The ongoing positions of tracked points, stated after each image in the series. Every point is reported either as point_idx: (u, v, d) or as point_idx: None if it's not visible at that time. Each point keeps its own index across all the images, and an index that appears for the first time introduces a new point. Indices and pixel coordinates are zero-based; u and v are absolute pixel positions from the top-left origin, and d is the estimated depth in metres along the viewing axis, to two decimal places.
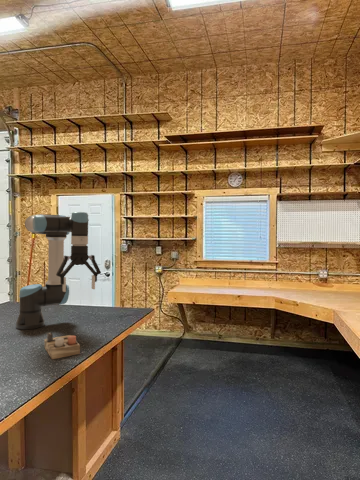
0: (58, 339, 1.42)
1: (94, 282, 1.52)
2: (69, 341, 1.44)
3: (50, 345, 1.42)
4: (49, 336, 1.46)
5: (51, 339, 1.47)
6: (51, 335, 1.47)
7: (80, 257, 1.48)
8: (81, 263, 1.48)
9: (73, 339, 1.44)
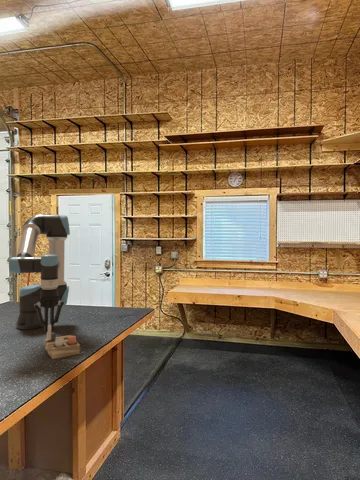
0: (58, 339, 1.42)
1: (50, 332, 1.47)
2: (69, 341, 1.44)
3: (50, 345, 1.42)
4: (52, 336, 1.47)
5: (54, 338, 1.48)
6: (54, 335, 1.48)
7: (51, 296, 1.47)
8: None
9: (73, 339, 1.44)
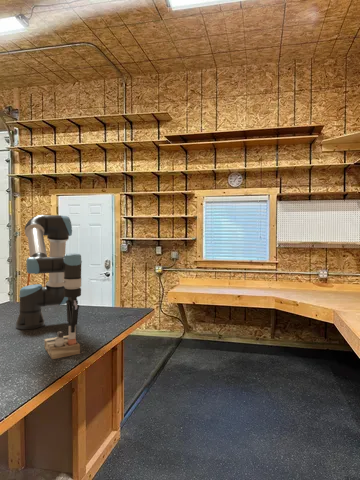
0: (58, 339, 1.42)
1: (69, 332, 1.44)
2: (69, 343, 1.44)
3: (50, 345, 1.42)
4: (60, 334, 1.49)
5: (61, 337, 1.50)
6: (61, 333, 1.49)
7: (70, 296, 1.44)
8: None
9: (73, 341, 1.44)
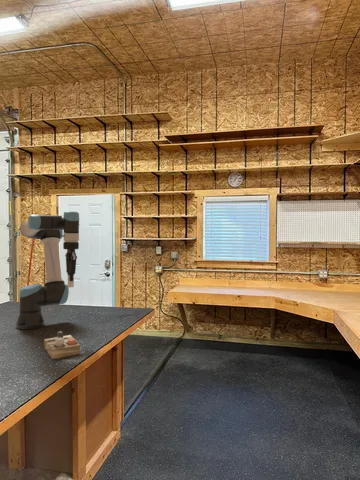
0: (58, 339, 1.42)
1: (68, 281, 1.63)
2: (69, 344, 1.44)
3: (50, 345, 1.42)
4: (60, 334, 1.49)
5: (61, 337, 1.50)
6: (61, 333, 1.49)
7: None
8: None
9: (73, 342, 1.44)
